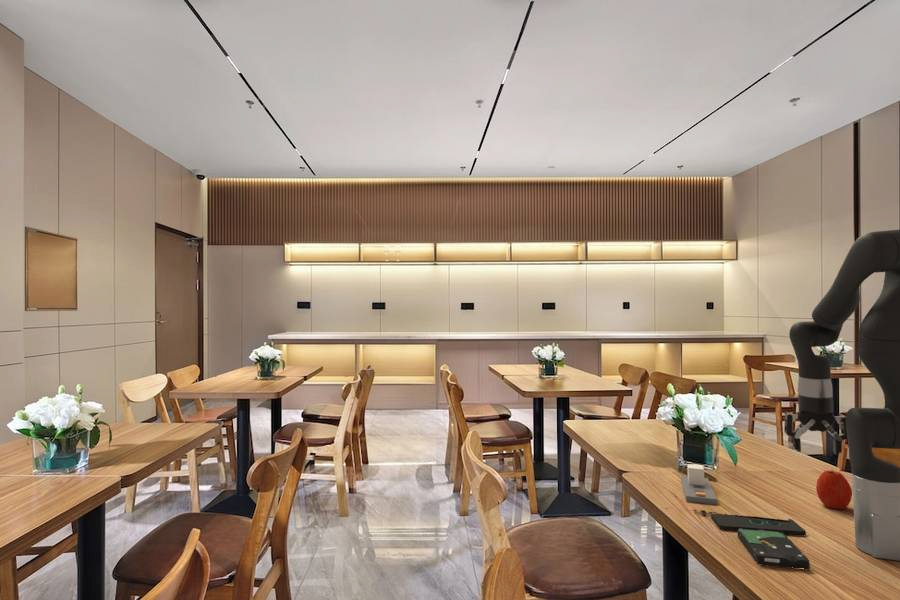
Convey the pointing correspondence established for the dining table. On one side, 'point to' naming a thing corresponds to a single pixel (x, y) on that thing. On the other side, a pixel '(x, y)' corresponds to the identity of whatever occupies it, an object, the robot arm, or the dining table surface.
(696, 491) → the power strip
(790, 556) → the disk drive
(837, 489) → the apple
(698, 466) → the charger
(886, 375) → the robot arm
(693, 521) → the dining table surface
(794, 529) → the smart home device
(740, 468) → the dining table surface
